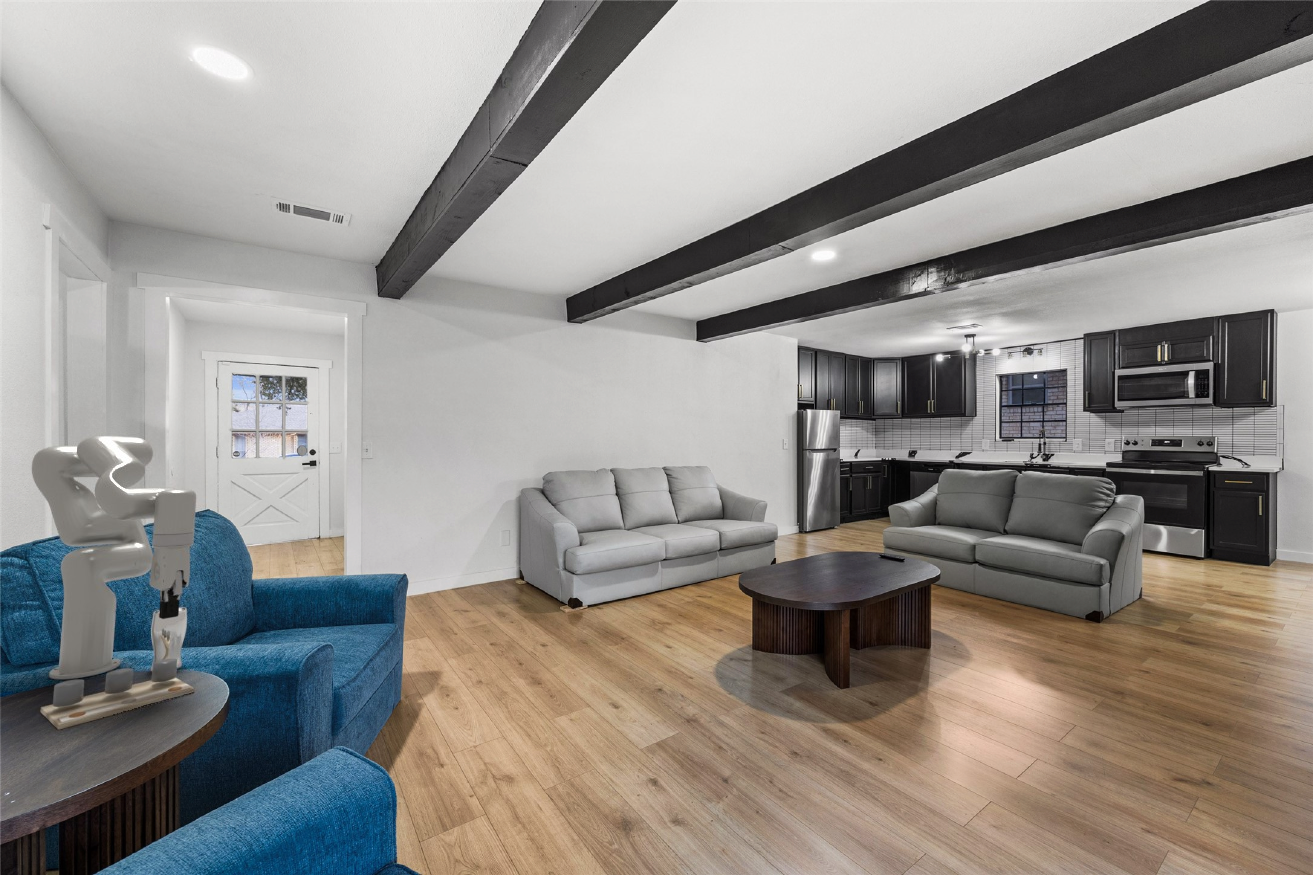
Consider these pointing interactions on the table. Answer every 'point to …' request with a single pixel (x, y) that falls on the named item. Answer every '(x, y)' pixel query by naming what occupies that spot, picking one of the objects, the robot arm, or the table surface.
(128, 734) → the table surface
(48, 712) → the button board
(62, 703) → the button
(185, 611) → the beer glass
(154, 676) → the button
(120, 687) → the button middle
